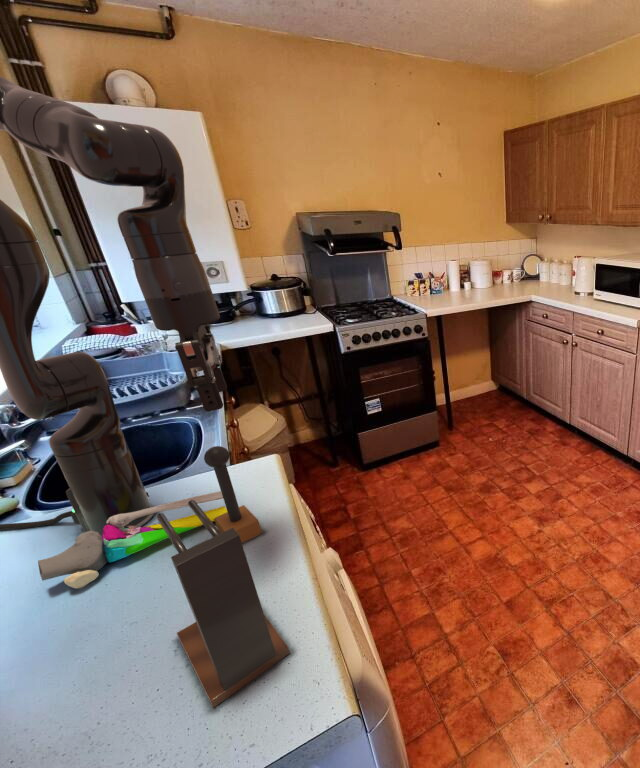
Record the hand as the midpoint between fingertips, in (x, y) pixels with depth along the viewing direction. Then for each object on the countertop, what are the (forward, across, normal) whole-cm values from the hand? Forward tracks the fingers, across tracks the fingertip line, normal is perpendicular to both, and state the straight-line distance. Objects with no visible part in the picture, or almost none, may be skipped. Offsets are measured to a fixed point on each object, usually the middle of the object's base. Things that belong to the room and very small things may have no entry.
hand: (217, 400), depth 65 cm
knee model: (+27, -12, -19) cm, 35 cm away
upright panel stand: (+29, +16, -6) cm, 34 cm away
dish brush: (+28, -9, -5) cm, 30 cm away
